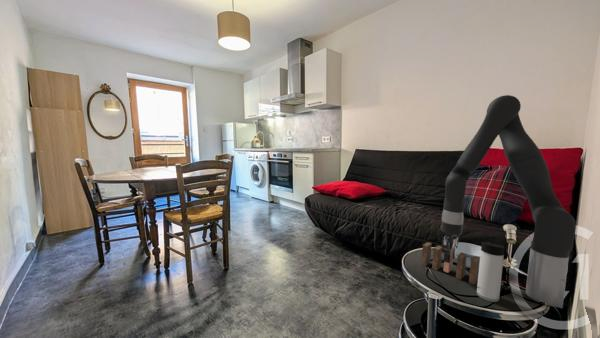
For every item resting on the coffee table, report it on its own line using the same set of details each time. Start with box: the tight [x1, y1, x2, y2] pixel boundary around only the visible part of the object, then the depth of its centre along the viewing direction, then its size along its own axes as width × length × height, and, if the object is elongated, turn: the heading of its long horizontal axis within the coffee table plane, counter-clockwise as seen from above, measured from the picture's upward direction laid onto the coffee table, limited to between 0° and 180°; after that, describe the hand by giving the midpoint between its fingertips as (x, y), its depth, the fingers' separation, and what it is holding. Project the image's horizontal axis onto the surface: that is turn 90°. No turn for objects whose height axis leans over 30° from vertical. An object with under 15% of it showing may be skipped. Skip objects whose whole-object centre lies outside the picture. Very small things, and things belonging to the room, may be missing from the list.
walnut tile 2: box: [431, 244, 443, 271], centre depth 103 cm, size 2×5×10 cm, turn 130°
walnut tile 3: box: [455, 252, 467, 280], centre depth 96 cm, size 2×5×10 cm, turn 130°
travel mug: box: [476, 241, 505, 303], centre depth 83 cm, size 6×7×20 cm
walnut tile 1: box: [421, 241, 433, 267], centre depth 106 cm, size 2×5×10 cm, turn 130°
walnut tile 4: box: [468, 256, 480, 286], centre depth 93 cm, size 2×5×10 cm, turn 130°
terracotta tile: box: [443, 248, 454, 273], centre depth 100 cm, size 2×5×10 cm, turn 131°
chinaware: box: [454, 241, 481, 269], centre depth 106 cm, size 15×15×8 cm
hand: (448, 260), depth 100 cm, fingers closed on terracotta tile, 4 cm apart
